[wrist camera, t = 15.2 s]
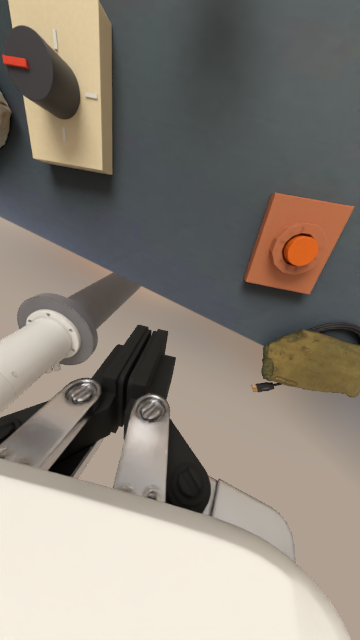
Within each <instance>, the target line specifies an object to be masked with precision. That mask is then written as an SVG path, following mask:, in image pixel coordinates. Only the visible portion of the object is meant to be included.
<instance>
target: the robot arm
mask: <svg viewBox="0 0 360 640" xmlns="http://www.w3.org/2000/svg"><path fill="white" fill-rule="evenodd" d="M167 336H168V331H165V330H160V329H158V331H153V333H152V335H151V330H148V327H146V326H142V325H138V326H137V327H136V328H135V330H134V331H133V333H132V334H131V335H130V337H129V338H128V340H127V341H126V343H125V344H124V345H117V346H116V347H115V348H114V349H113V351H112V352H111V353H110V355H109V356H108V357H107V359H106V360H105V361H104V363H103V364H102V365H101V367H100V368H99V369H98V370H97V372H96V373H95V375H94V376H93V377H92V378H81V379H77V380H74V381H72V382H70V383H69V384H68V385H66V386H65V387H64V388H63V389H62V390H61V391H60V392H58V393H57V394H56V395H55V396H54V397H53V398H52V399H51V400H49V401H47V402H44V403H41V404H38V405H35V406H32V407H30V408H26V409H24V410H21V411H18V412H15V413H12V414H9V415H7V416H4V417H1V418H0V640H351V638H350V636H349V634H348V631H347V629H346V628H345V625H344V623H343V622H342V620H341V618H340V616H339V615H338V613H337V611H336V609H335V608H334V606H333V605H332V603H331V602H330V600H329V599H328V597H327V596H326V595H325V594H324V593H323V591H322V590H321V589H320V587H319V586H318V585H317V584H316V583H315V582H314V581H313V580H312V579H311V578H310V577H309V576H308V575H307V574H306V573H305V571H304V570H303V569H302V568H301V567H299V566H298V565H297V564H296V562H295V549H294V542H293V537H292V533H291V531H290V529H289V527H288V525H287V522H286V521H285V520H284V519H283V517H282V516H281V515H280V513H278V512H277V511H276V510H274V509H273V508H272V507H270V506H268V505H266V504H264V503H263V502H261V501H259V500H257V499H255V498H254V497H252V496H250V495H248V494H246V493H244V492H243V491H241V490H239V489H237V488H235V487H233V486H232V485H230V484H228V483H226V482H224V481H223V480H221V479H219V480H218V481H217V480H215V479H214V478H212V477H210V476H208V475H207V472H206V471H205V469H204V467H203V466H202V465H201V463H200V462H199V460H198V459H197V457H196V456H195V454H194V453H193V451H192V450H191V449H190V448H189V446H188V444H187V443H186V441H185V440H184V438H183V437H182V435H181V434H180V432H179V431H178V430H177V428H176V427H175V425H174V424H173V422H172V421H171V419H170V418H169V417H170V409H169V408H170V407H169V404H168V402H167V400H166V399H167V395H168V391H169V387H170V383H171V379H172V374H173V370H174V365H175V360H176V358H175V357H171V356H167V355H165V349H166V342H167ZM80 346H81V338H80V334H79V332H78V330H77V328H76V327H75V325H74V324H73V323H72V322H71V321H70V320H69V319H68V318H66V317H65V316H64V315H62V314H60V313H58V312H56V311H53V310H48V309H41V310H38V311H35V312H33V313H32V314H30V315H29V316H28V318H27V321H26V326H24V327H23V328H21V329H19V330H17V331H16V332H14V333H12V334H10V335H9V336H7V337H5V338H3V339H2V340H0V413H2V412H3V411H4V410H5V409H6V408H7V407H8V406H9V405H10V404H11V403H12V402H14V401H15V400H16V399H17V398H18V397H19V396H20V395H21V394H22V393H23V392H24V391H25V390H27V389H28V387H30V386H31V385H32V384H33V383H34V382H35V381H36V380H37V379H38V378H40V376H42V375H43V374H44V373H50V372H51V371H52V370H53V368H54V371H59V370H60V364H59V362H60V361H61V360H62V359H64V358H69V357H71V356H73V355H74V354H76V353H77V352H78V350H79V349H80ZM52 366H53V368H52ZM123 425H124V444H123V448H122V452H121V457H120V460H119V465H118V469H117V473H116V477H115V481H114V485H113V488H109V487H106V486H102V485H98V484H94V483H91V482H87V481H83V480H80V479H78V478H79V476H80V475H81V473H82V471H83V470H84V469H85V467H86V466H87V464H88V463H89V461H90V459H91V458H92V457H93V455H94V454H95V452H96V451H97V449H98V448H99V446H100V444H101V442H102V440H103V438H104V437H106V436H108V435H110V433H111V432H113V433H116V431H117V429H118V427H119V426H121V427H122V426H123Z"/></svg>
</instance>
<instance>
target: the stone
mask: <svg viewBox="0 0 360 640" xmlns="http://www.w3.org/2000/svg"><path fill="white" fill-rule="evenodd" d="M11 113H12V112H11V110H10V108H9V107H8V104H7V102H6V101H5V99H4V98H3V95H2V93H1V91H0V148H1V147H2V145H4V144H5V141H6V139H7V134H8V132H9V124H10V116H11Z"/></svg>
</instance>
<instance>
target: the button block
mask: <svg viewBox="0 0 360 640" xmlns="http://www.w3.org/2000/svg"><path fill="white" fill-rule="evenodd" d="M353 209H354V207H353V206H347V205H342V204H336V203H330V202H325V201H319V200H313V199H307V198H302V197H296V196H290V195H285V194H279V193H274V194H272V195H271V197H270V200H269V203H268V206H267V209H266V212H265V215H264V218H263V221H262V224H261V227H260V230H259V233H258V236H257V239H256V242H255V245H254V248H253V252H252V255H251V258H250V261H249V264H248V267H247V270H246V273H245V276H244V279H245V281H246V282H250V283H255V284H260V285H265V286H270V287H275V288H279V289H284V290H289V291H294V292H299V293H304V294H310V292H311V290H312V288H313V287H314V285H315V283H316V281H317V279H318V277H319V275H320V273H321V271H322V269H323V267H324V265H325V263H326V261H327V259H328V257H329V255H330V254H331V252H332V250H333V248H334V246H335V244H336V242H337V240H338V238H339V236H340V234H341V232H342V230H343V228H344V226H345V224H346V223H347V221H348V219H349V217H350V215H351V213H352V211H353ZM296 236H307V237H312V238H314V239H315V240H316V241H317V243H318V247H319V249H318V253H317V255H316V257H315V258H314V260H312V261H311V262H310V263H308V264H306V265H303V266H295V265H293V264H291V263H290V262H288V261H287V260H286V259H285V257H284V248H285V246H286V244H287V243H288V242H289V241H290V240H291V239H292V238H294V237H296Z"/></svg>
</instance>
